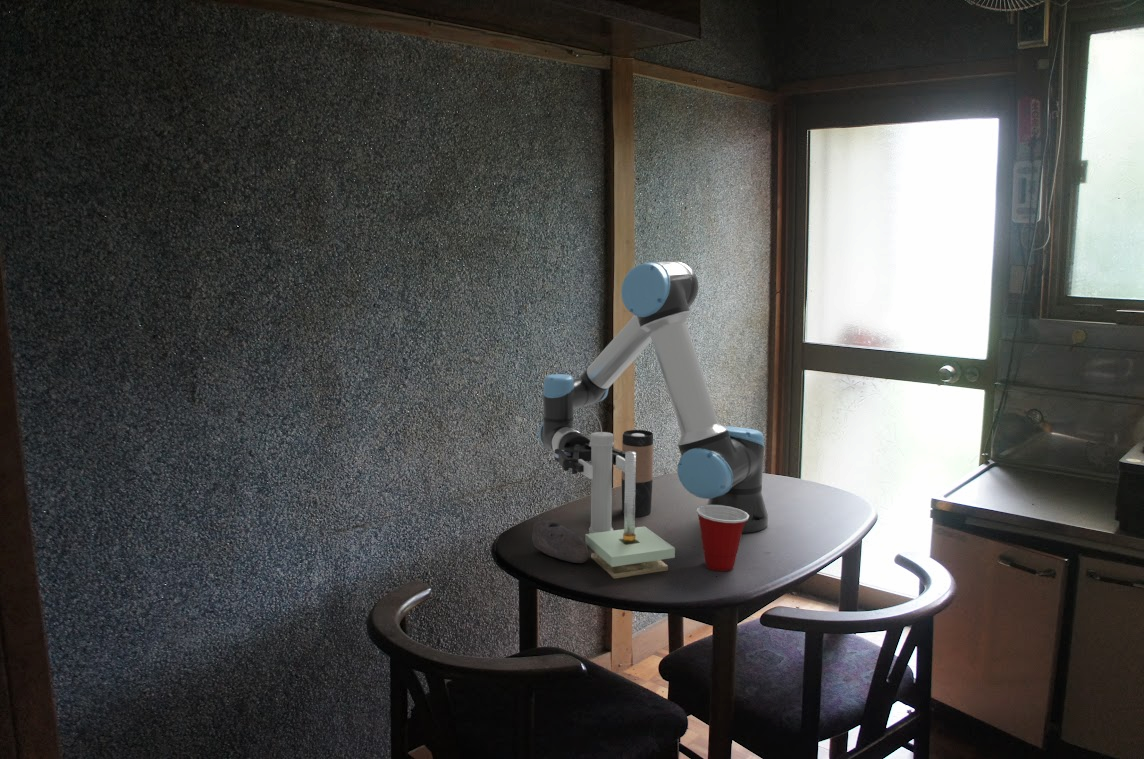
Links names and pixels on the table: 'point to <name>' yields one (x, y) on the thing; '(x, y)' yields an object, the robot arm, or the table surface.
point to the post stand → (630, 529)
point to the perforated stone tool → (559, 542)
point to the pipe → (601, 481)
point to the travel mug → (640, 468)
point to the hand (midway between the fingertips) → (610, 470)
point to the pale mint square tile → (629, 547)
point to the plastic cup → (721, 534)
